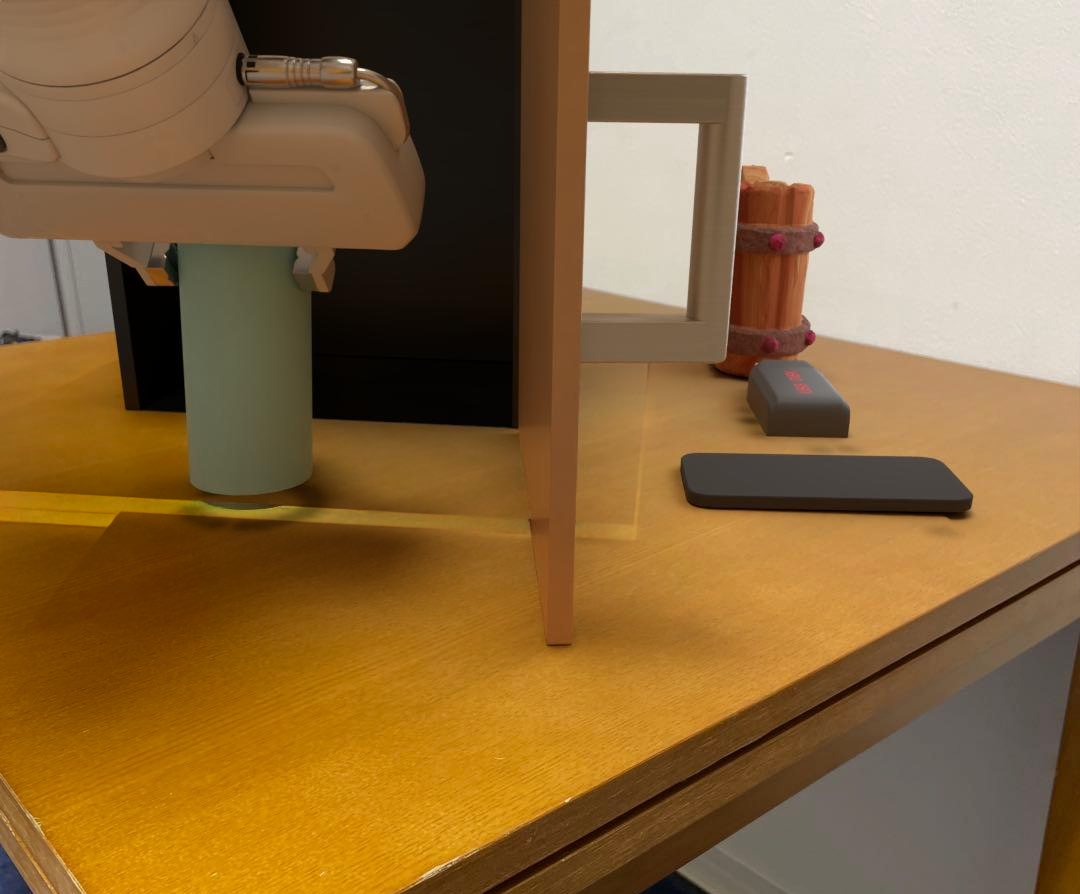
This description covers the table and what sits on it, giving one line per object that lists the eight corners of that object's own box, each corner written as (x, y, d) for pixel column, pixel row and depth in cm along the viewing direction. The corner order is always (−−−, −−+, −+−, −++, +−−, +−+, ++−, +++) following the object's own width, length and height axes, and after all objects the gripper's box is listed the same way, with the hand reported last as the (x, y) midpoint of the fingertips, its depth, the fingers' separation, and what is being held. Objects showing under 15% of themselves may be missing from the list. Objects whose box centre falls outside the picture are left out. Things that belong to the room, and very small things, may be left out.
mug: (820, 388, 82) (844, 176, 76) (711, 386, 82) (727, 175, 76) (779, 345, 95) (797, 163, 90) (686, 344, 95) (698, 162, 89)
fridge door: (628, 444, 68) (657, -155, 55) (717, 642, 44) (802, -337, 31) (518, 445, 67) (523, -159, 55) (546, 645, 43) (566, -347, 31)
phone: (679, 451, 64) (938, 456, 63) (678, 465, 64) (936, 469, 64) (689, 495, 57) (980, 500, 57) (688, 510, 57) (977, 515, 57)
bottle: (171, 503, 56) (144, 72, 48) (215, 463, 62) (198, 73, 54) (293, 515, 56) (286, 83, 48) (326, 474, 62) (325, 84, 54)
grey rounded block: (766, 437, 70) (770, 395, 69) (739, 389, 81) (742, 352, 80) (848, 439, 70) (853, 397, 69) (810, 391, 81) (814, 354, 80)
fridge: (527, 444, 68) (534, -159, 56) (127, 424, 70) (49, -156, 58) (556, 374, 84) (566, -102, 72) (231, 360, 87) (187, -102, 75)
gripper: (405, -2, 42) (456, 232, 54) (-97, -6, 44) (65, 220, 56) (382, 127, 39) (440, 340, 52) (-149, 117, 41) (33, 324, 54)
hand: (242, 277), depth 54 cm, fingers closed on bottle, 6 cm apart
